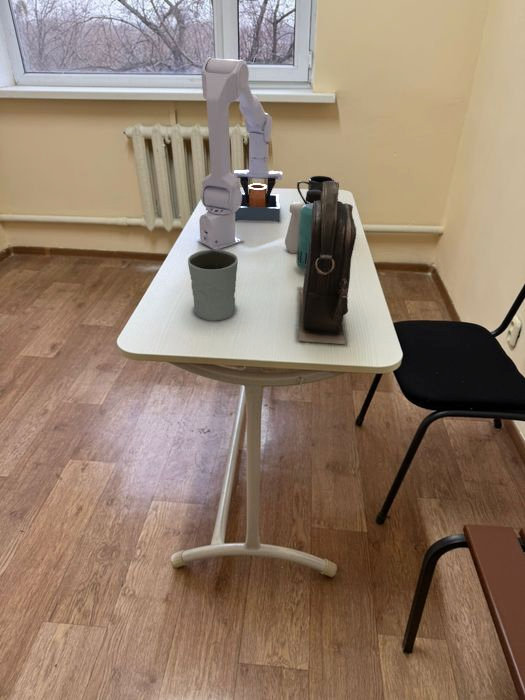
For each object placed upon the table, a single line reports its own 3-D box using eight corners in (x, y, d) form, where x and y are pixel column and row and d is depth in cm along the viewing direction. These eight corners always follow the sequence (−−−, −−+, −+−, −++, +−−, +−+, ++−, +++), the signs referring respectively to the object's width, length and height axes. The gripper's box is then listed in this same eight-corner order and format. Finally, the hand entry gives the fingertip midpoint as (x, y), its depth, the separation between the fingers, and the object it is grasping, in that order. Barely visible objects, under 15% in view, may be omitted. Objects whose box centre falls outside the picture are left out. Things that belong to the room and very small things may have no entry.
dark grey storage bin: (279, 222, 147) (279, 208, 144) (235, 221, 146) (235, 207, 144) (277, 207, 158) (278, 194, 155) (237, 206, 157) (237, 193, 155)
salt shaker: (305, 255, 127) (309, 207, 120) (284, 254, 127) (287, 206, 120) (304, 246, 132) (308, 200, 125) (284, 245, 132) (286, 199, 125)
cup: (256, 211, 147) (256, 190, 144) (245, 206, 151) (245, 185, 147) (269, 207, 150) (270, 187, 147) (258, 203, 154) (258, 182, 150)
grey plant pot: (195, 324, 98) (192, 272, 91) (187, 301, 106) (184, 251, 99) (243, 318, 100) (243, 266, 93) (232, 296, 108) (231, 246, 101)
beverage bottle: (322, 266, 122) (331, 188, 110) (318, 278, 117) (327, 197, 105) (298, 263, 123) (304, 185, 111) (292, 274, 118) (298, 193, 106)
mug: (294, 204, 161) (295, 175, 156) (328, 204, 162) (331, 175, 156) (296, 212, 154) (298, 182, 149) (333, 212, 155) (336, 183, 150)
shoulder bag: (299, 288, 112) (310, 165, 96) (338, 290, 112) (355, 167, 95) (298, 342, 94) (311, 201, 77) (344, 345, 93) (367, 204, 77)
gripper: (282, 154, 145) (280, 198, 153) (235, 152, 145) (235, 197, 153) (283, 160, 139) (280, 205, 147) (233, 158, 139) (234, 204, 147)
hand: (257, 202), depth 150 cm, fingers closed on cup, 5 cm apart
